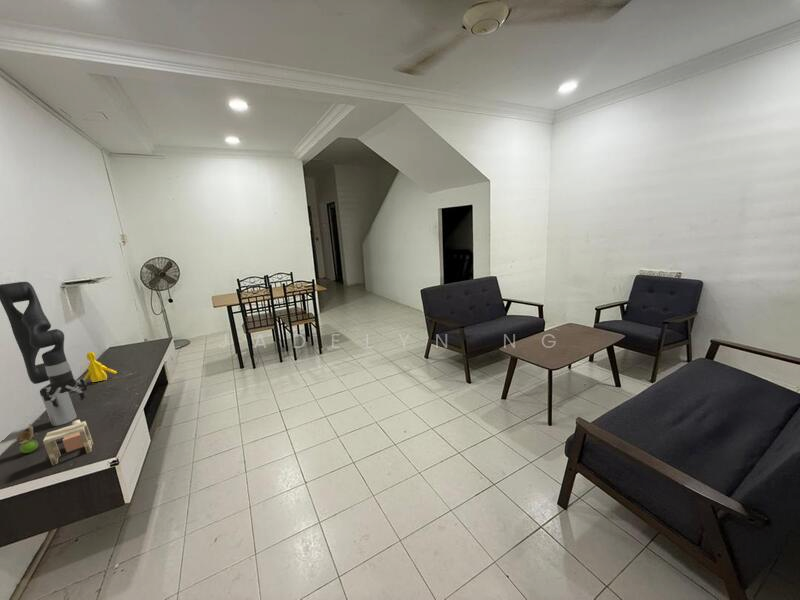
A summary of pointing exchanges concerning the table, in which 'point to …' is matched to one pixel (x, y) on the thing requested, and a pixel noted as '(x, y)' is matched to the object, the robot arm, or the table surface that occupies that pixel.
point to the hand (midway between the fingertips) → (70, 402)
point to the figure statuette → (96, 369)
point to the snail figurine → (27, 441)
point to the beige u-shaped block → (63, 432)
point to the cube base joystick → (73, 440)
